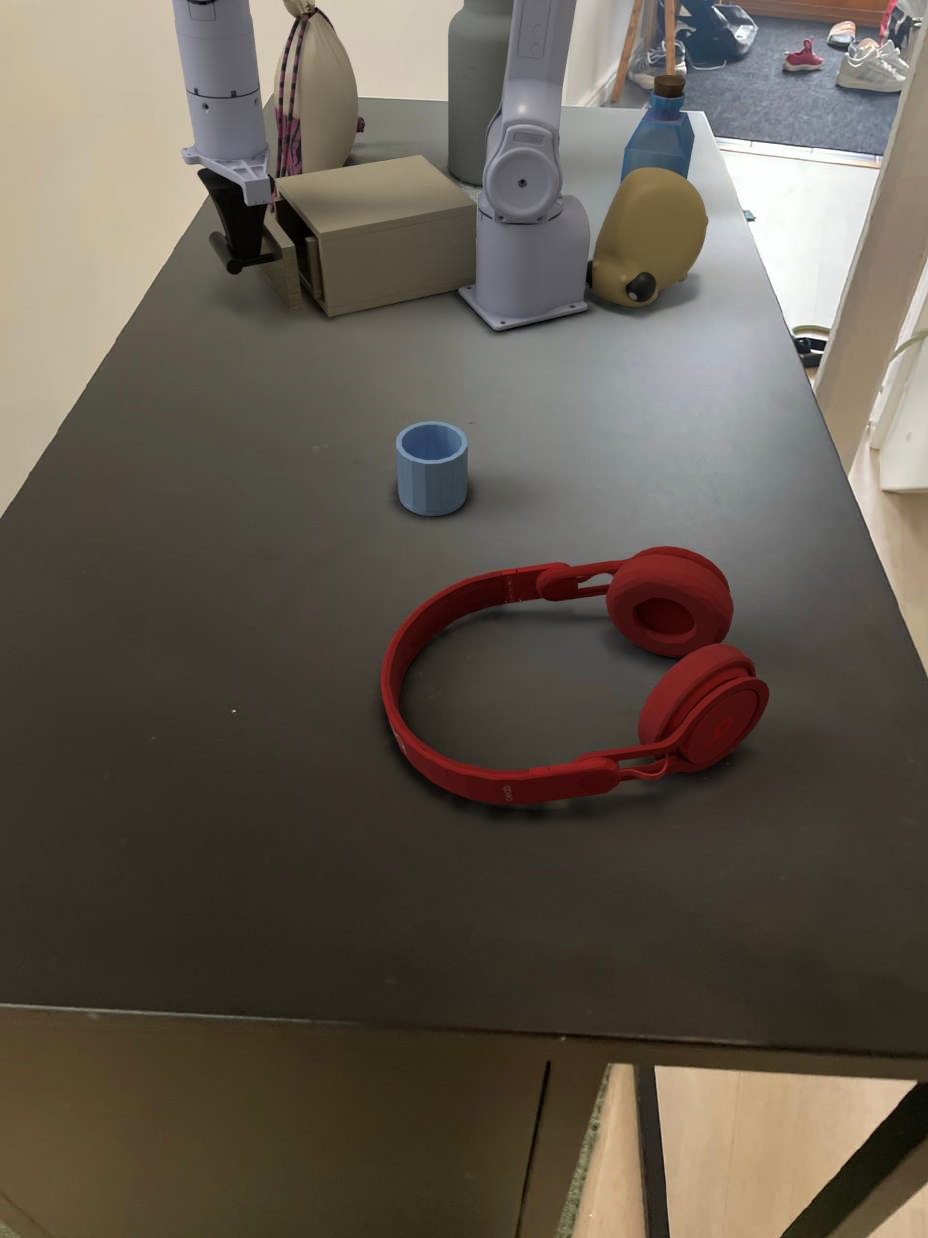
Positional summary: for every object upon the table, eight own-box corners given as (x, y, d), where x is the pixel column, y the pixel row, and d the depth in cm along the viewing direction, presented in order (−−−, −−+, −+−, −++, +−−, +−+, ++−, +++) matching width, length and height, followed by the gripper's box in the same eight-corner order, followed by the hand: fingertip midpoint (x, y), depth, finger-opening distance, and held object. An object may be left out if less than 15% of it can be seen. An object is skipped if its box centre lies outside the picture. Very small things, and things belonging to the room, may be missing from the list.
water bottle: (455, 151, 109) (456, -154, 88) (536, 156, 108) (556, -151, 87) (442, 185, 102) (439, -138, 81) (529, 191, 101) (548, -134, 81)
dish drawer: (242, 322, 79) (230, 257, 75) (209, 267, 86) (196, 204, 82) (430, 282, 84) (429, 219, 80) (384, 233, 91) (381, 173, 87)
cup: (449, 466, 67) (449, 414, 63) (478, 505, 64) (479, 452, 60) (388, 483, 65) (385, 431, 62) (414, 523, 62) (413, 470, 59)
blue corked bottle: (683, 195, 100) (706, 73, 92) (674, 218, 96) (696, 92, 88) (628, 187, 102) (645, 67, 93) (616, 209, 98) (632, 85, 89)
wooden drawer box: (328, 317, 81) (319, 232, 76) (285, 258, 89) (274, 178, 84) (475, 285, 86) (477, 203, 80) (422, 232, 93) (420, 154, 88)
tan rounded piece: (592, 307, 90) (544, 263, 81) (650, 191, 88) (608, 132, 79) (675, 340, 85) (634, 297, 76) (739, 218, 83) (705, 158, 74)
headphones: (709, 594, 57) (394, 639, 58) (717, 507, 52) (371, 558, 53) (783, 797, 47) (399, 848, 48) (802, 715, 42) (371, 774, 43)
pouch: (317, 140, 111) (298, -51, 97) (384, 144, 110) (374, -47, 96) (255, 227, 94) (220, 11, 80) (332, 233, 93) (311, 16, 79)
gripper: (151, 63, 74) (182, 229, 84) (195, 123, 65) (224, 300, 75) (235, 55, 77) (256, 218, 86) (289, 112, 68) (305, 286, 78)
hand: (246, 256), depth 81 cm, fingers closed, pressing on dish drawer
